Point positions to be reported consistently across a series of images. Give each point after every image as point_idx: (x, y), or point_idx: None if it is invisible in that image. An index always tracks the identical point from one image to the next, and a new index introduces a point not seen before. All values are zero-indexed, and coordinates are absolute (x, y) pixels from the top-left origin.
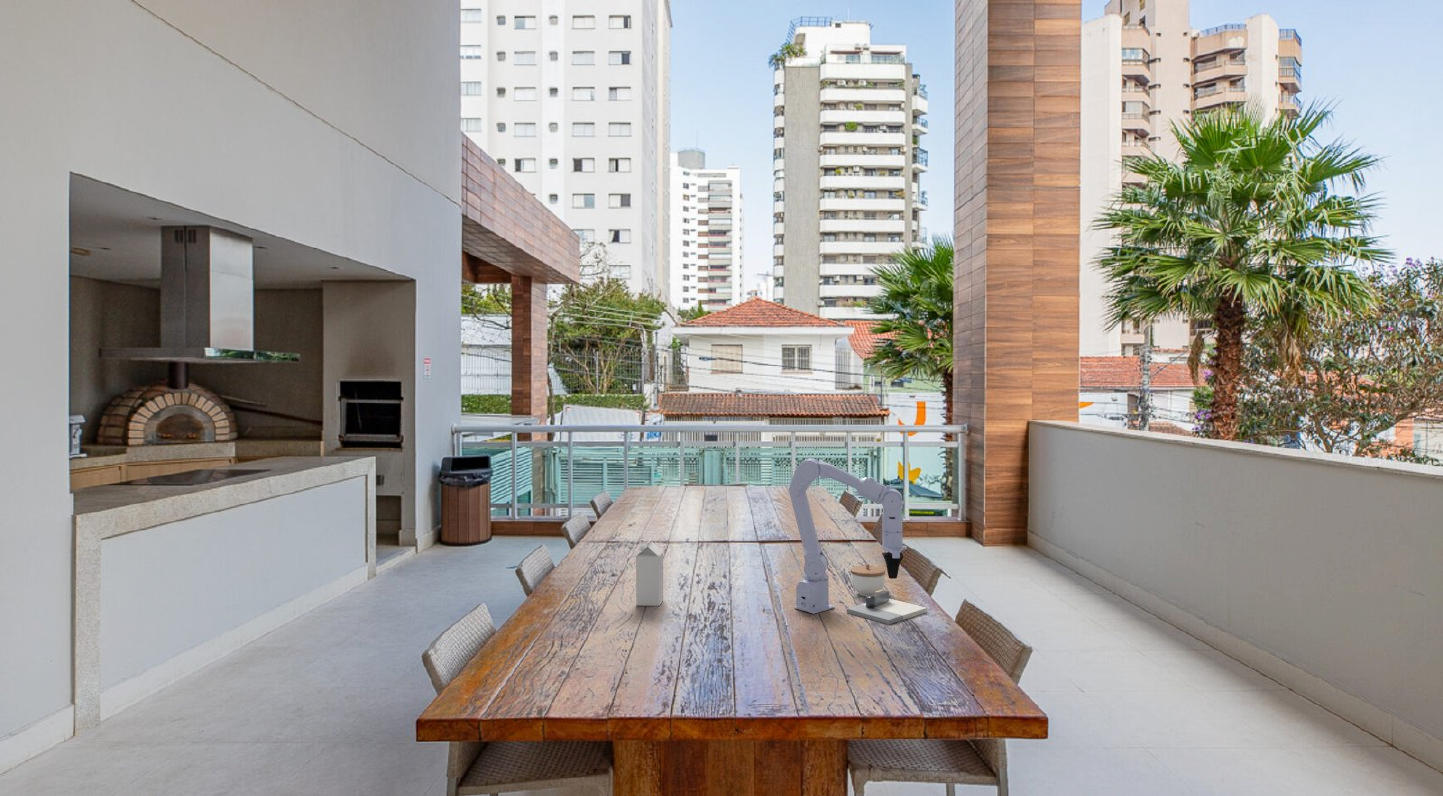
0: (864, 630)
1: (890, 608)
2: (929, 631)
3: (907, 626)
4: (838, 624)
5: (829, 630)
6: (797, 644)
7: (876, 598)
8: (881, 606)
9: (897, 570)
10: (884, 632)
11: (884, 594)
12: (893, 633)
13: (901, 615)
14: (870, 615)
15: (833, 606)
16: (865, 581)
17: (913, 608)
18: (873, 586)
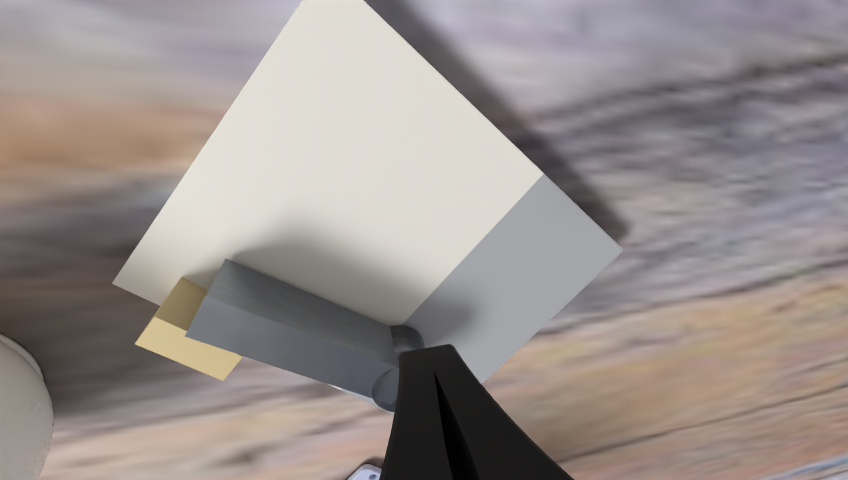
0: (679, 328)
1: (397, 244)
2: (757, 21)
3: (652, 146)
4: (594, 415)
5: (659, 427)
6: (765, 470)
7: (382, 351)
8: (361, 293)
9: (498, 413)
10: (719, 254)
11: (281, 317)
12: (741, 217)
13: (544, 182)
14: (534, 331)
15: (371, 472)
16: (24, 472)
17: (369, 90)
18: (14, 395)
